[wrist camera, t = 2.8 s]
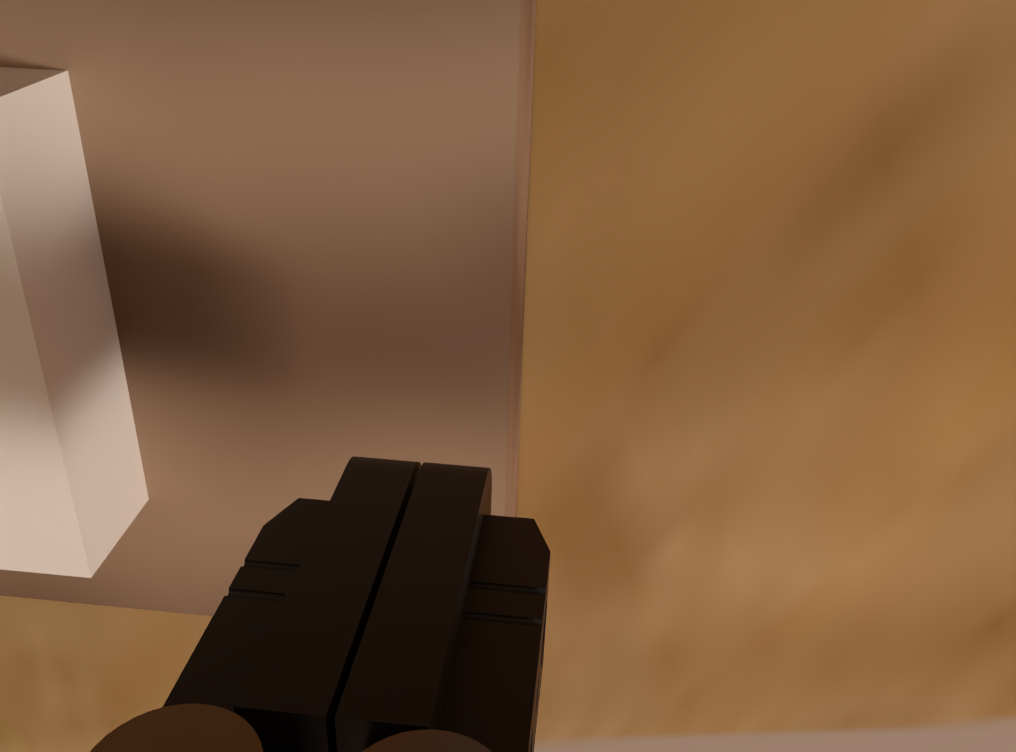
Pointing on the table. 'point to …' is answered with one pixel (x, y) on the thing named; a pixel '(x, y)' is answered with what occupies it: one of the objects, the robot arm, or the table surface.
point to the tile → (57, 347)
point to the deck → (294, 254)
